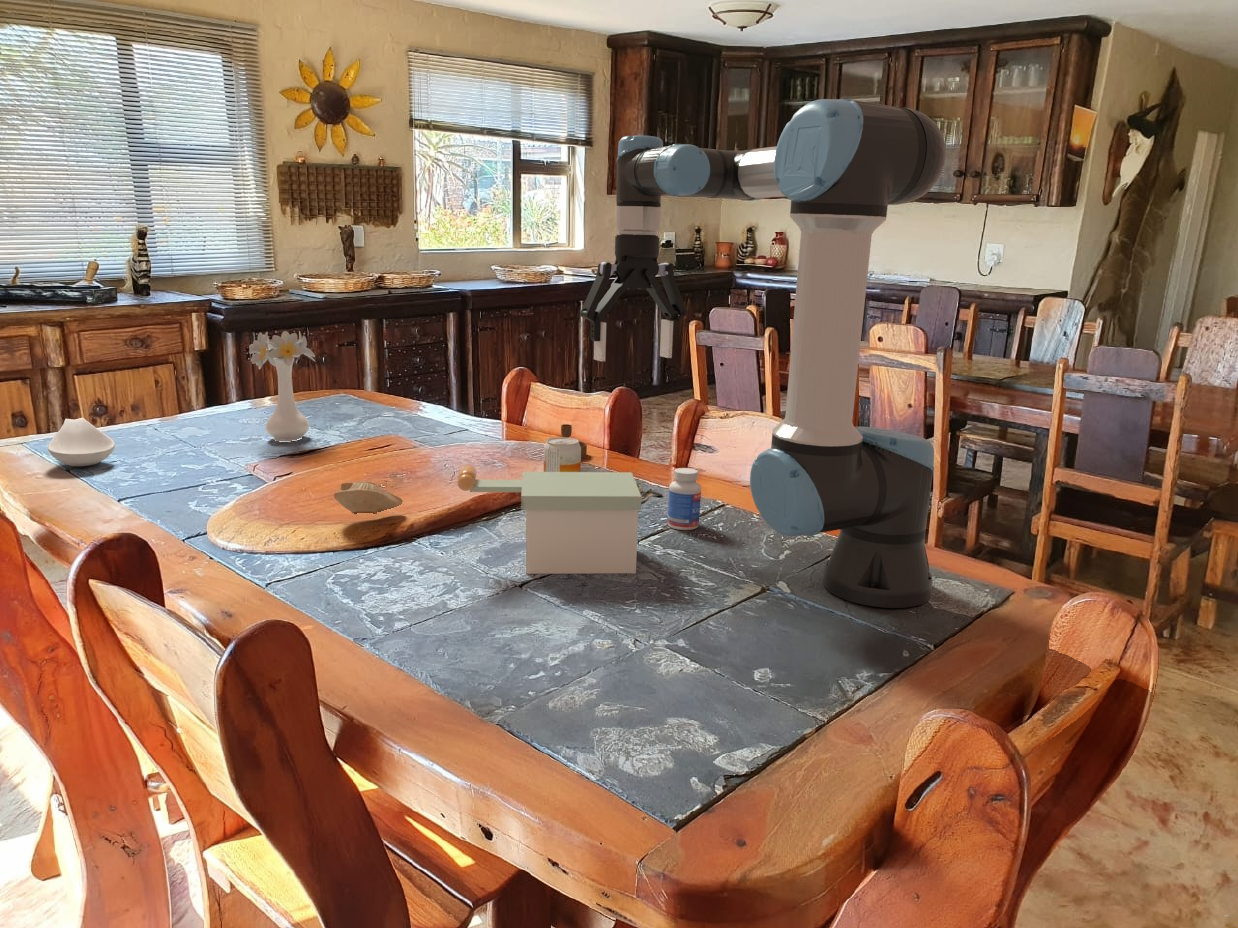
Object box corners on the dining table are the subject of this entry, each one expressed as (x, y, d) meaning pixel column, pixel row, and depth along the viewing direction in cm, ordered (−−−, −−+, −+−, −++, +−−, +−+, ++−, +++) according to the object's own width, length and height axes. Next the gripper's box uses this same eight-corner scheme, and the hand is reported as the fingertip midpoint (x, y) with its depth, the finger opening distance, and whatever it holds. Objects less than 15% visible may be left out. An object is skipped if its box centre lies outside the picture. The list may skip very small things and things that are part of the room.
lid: (631, 484, 144) (632, 460, 143) (640, 509, 131) (641, 482, 130) (462, 483, 142) (462, 458, 141) (455, 509, 129) (454, 481, 128)
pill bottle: (697, 532, 154) (700, 476, 151) (665, 529, 155) (667, 473, 152) (700, 522, 159) (703, 468, 157) (670, 519, 160) (672, 465, 158)
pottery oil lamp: (417, 516, 158) (416, 476, 156) (353, 530, 149) (352, 489, 148) (389, 505, 163) (388, 466, 162) (327, 518, 155) (325, 477, 153)
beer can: (585, 525, 155) (587, 439, 152) (568, 535, 150) (570, 446, 146) (554, 520, 158) (555, 435, 154) (536, 530, 152) (537, 441, 149)
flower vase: (285, 430, 220) (279, 325, 213) (334, 442, 209) (329, 332, 203) (235, 439, 209) (227, 328, 203) (284, 452, 199) (277, 336, 193)
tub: (627, 545, 146) (630, 479, 143) (635, 573, 134) (638, 501, 132) (526, 546, 144) (527, 478, 142) (525, 573, 133) (526, 500, 130)
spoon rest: (121, 466, 185) (117, 431, 183) (53, 473, 178) (48, 437, 176) (103, 442, 203) (100, 411, 201) (41, 448, 196) (37, 415, 195)
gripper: (685, 234, 165) (680, 353, 170) (561, 231, 152) (559, 359, 157) (710, 235, 158) (703, 358, 164) (583, 231, 146) (580, 364, 151)
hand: (633, 358), depth 160 cm, fingers open, 13 cm apart
